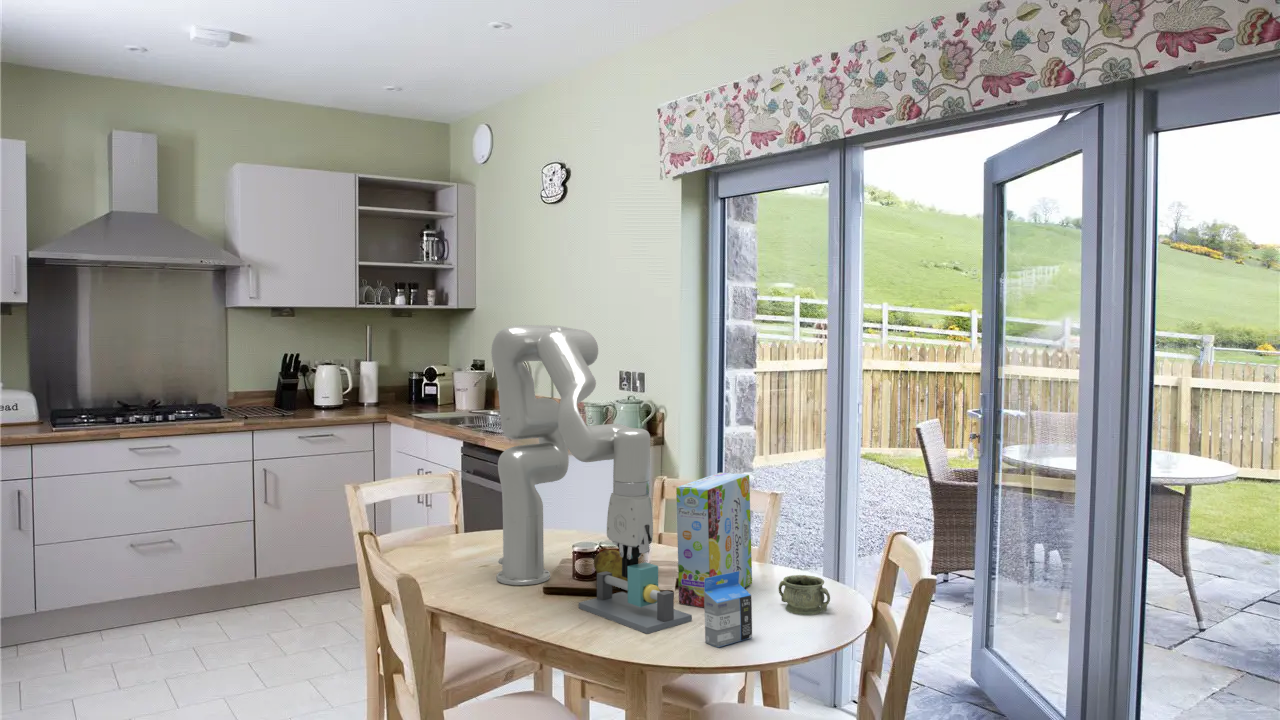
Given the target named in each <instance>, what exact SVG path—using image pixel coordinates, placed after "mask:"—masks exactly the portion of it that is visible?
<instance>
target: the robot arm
mask: <svg viewBox="0 0 1280 720" xmlns="http://www.w3.org/2000/svg"><path fill="white" fill-rule="evenodd" d="M490 351H491V352H490V353H491V354H490V355H491V360H492V366H493V369H494V372H495V377H496V381H497V387H498V388H497V389H498V402H499V403H498V404H499V414H500V415H499V416H500V425H501V429H502V433H503V434H504V436H505V437H506V438H507V439H511V440H530V439H538V443H529V444H523V445H515V446H511V447H509V448H507V449H505V450H504V451H503V452H502V453H501V454H500V455H499V458H498V461H497V471H498V476H499V481H500V488H501V489H500V490H501V498H502V503H501V504H502V558H499V559H498V561H497V563H498V564H499V565H501V567H502V568H501V569H502V570H500V571H499V572H498V573H497V574H496V581H498V583H501V584H505V585H509V586H528V585H529V586H531V585H536V584H541V583H544V582H547V581H548V580H550V578H551V572H550V571H549V570H547V569H546V568H544V565H545V564H544V561H545V560H544V503H543V500H542V497H541V495H540V493H539V492H538V490H537V488H536V486H535V485H540V484H547V483H553V482H557V481H560V480H562V479H564V477H565V476H566V475H567V472H568V469H569V463H570V462H569V461H570V460H569V459H570V457H569V452H570V453H571V454H572V456H573V457H574V458H575V459H576V460H578V461H579V462H582V463H594V462H601V461H610V460H613V469H612V473H613V474H612V475H613V476H612V477H613V479H612V481H613V482H612V488H613V489H612V492H611V493H610V497H609V500H608V501H609V502H608V510H607V516H606V538H608V540H610V541H611V542H612V544H613V545H615V546H617V548H618V549H619V550H618V551H619V552H620V556H621V557H623V558H622V576H623V577H626V578H628V566H631V565H635V564H639V558H641V556H642V554H645V553H650V551H651V550H650V545H651V544H652V542H653V538H654V537H653V536H654V520H653V518H654V517H653V507H652V501H651V500H652V499H651V497H650V482H651V481H650V478H651V477H650V475H651V474H650V473H651V472H650V471H651V434H650V433H649V431H648V430H646V429H644V428H637V427H629V426H627V425H625V424H621V423H608V424H607V423H606V424H593V425H587V424H586V422H585V421H584V419H583V417H582V415H581V413H580V411H579V407H578V406H579V405H578V404H579V403H581V402H583V401H584V400H585V399H587V398H588V397H590V395H591V394H592V393H593V392H594V390H595V389H596V385H597V382H596V381H597V380H596V377H594V375H593V373H592V371H591V369H590V368H589V366H591V365H593V364H594V363H595V362H596V361H597V359H598V355H599V346H598V342H597V340H596V338H595V336H594V335H592V334H591V333H590V332H589V331H587V330H584V329H577V328H572V327H567V326H561V325H549V324H548V325H547V324H546V325H544V324H542V325H539V324H536V325H535V324H524V325H523V324H516V325H510V326H507V327H503V328H501V330H499V331H498V332H497V333H496V335H495V336H494V338H493V340H492V344H491V350H490ZM525 362H542V365H543V366H544V368H545V369H546V372H547V373H548V376H549V377H550V379H551V381H552V383H553V385H554V386H555V389H556V390H557V392H558V394H559V396H560V401H559V402H557V400H555V399H553V398H549V397H541V398H540V397H539V398H538V397H537V396H536V391H535V382H534V378H533V376H532V374H531V373H530V371H529V369H528V367H527V366H525V364H524V363H525ZM549 577H550V578H549Z"/></svg>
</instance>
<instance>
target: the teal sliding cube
mask: <svg viewBox="0 0 1280 720" xmlns="http://www.w3.org/2000/svg"><path fill="white" fill-rule="evenodd" d="M648 584H653V585H656V586H658V587H659V566H658V565H656V564H653V563H650V562H646V561H645V562H640V563H638V564H635V565H631V566H628V591H627V593H628V603H630V604H633V605H636V606H639V607H643V606H647V605H650V604H654V603H649V602H646V601H645V600H644V598H643V587H646V586H647V585H648ZM655 603H657V601H656V602H655Z"/></svg>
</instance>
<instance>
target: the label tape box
mask: <svg viewBox="0 0 1280 720" xmlns="http://www.w3.org/2000/svg"><path fill="white" fill-rule="evenodd" d="M739 573H740V571H736V572H732V573H727V574H722V575H717V576H713V577H708V578H705V583H704V585H705V586H704V640H705V642H704V643H706V644H708V645H710V646H711V647H715V648H722V647H724V646H728V645H732V644H734V643H739V642H742V641H746V640H749V639H753V614H752V613H753V612H752V607H753V605H752V594H751V593H749V591H747V589H745V588H743V587H742V586H741V585H740V584H739ZM721 579H723V580H728V581H727V582H726V583H722V584H717V585H716V582H718V581H721Z"/></svg>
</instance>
